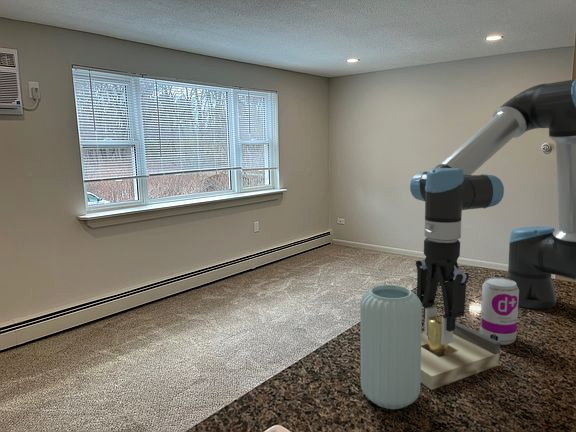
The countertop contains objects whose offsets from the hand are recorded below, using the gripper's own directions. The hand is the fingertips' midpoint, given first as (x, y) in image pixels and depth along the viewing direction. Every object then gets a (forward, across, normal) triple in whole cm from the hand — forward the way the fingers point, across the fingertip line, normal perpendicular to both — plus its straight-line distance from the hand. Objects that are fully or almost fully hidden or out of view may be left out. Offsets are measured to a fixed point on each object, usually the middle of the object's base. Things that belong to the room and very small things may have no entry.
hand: (438, 338), depth 96 cm
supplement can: (+5, -1, +22) cm, 22 cm away
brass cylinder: (+6, 0, 0) cm, 6 cm away
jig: (+6, 0, 0) cm, 6 cm away
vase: (+6, +6, -18) cm, 20 cm away
